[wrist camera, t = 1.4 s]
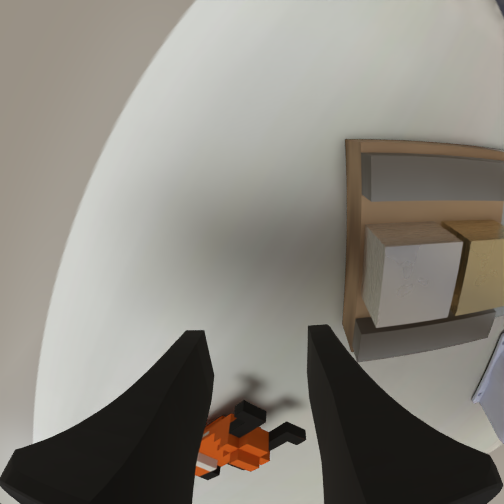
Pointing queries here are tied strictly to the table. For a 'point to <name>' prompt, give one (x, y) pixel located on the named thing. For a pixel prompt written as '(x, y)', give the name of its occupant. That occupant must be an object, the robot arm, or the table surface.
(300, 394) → the table surface
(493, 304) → the tan wooden block
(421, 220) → the slot block
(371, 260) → the grey block
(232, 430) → the toy
